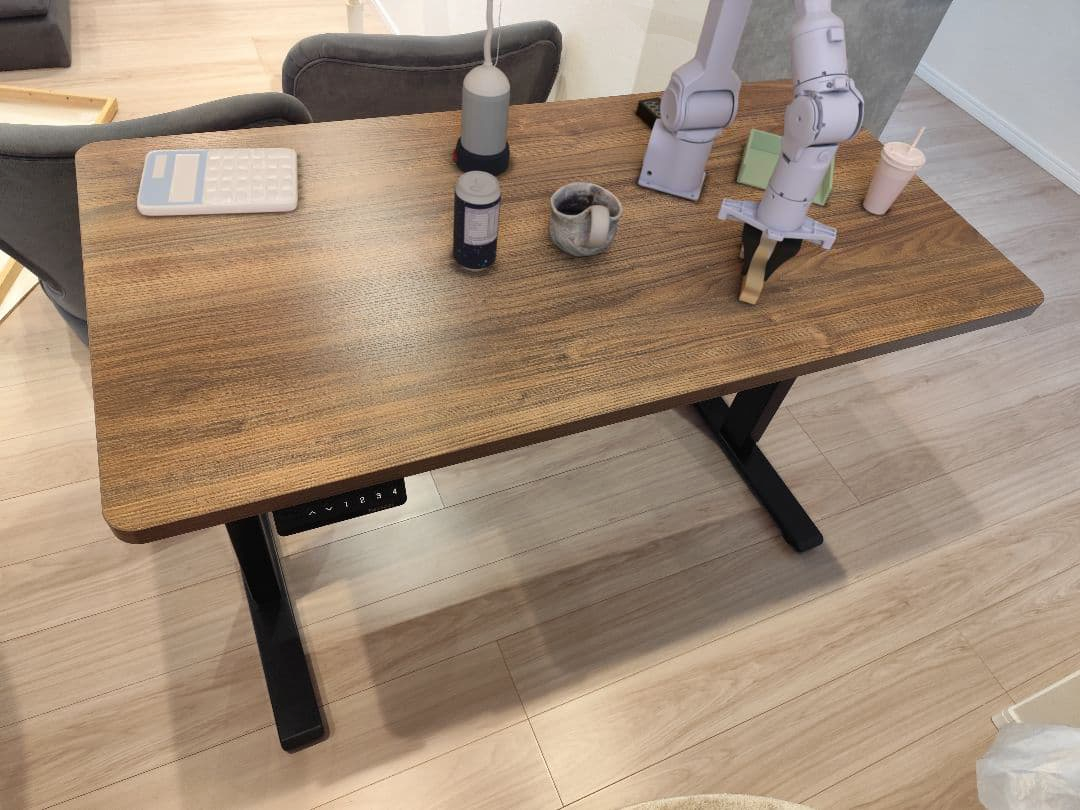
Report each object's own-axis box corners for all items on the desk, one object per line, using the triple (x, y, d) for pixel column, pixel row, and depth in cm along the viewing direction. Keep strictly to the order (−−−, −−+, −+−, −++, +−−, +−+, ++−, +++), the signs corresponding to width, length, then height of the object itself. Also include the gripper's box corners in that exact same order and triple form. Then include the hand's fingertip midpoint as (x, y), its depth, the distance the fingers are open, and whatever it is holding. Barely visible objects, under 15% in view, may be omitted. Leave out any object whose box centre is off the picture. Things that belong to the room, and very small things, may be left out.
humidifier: (444, 156, 112) (446, -20, 92) (486, 141, 115) (497, -31, 96) (476, 183, 108) (486, 6, 89) (519, 167, 112) (537, -6, 93)
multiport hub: (655, 108, 128) (658, 96, 126) (692, 142, 122) (695, 129, 121) (634, 112, 126) (637, 100, 125) (670, 146, 121) (674, 134, 119)
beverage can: (501, 254, 99) (508, 177, 89) (486, 279, 95) (491, 201, 86) (462, 241, 99) (465, 164, 90) (445, 266, 96) (447, 188, 87)
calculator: (298, 212, 99) (296, 200, 98) (138, 218, 95) (133, 205, 94) (297, 156, 107) (296, 144, 106) (149, 159, 103) (145, 147, 102)
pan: (823, 205, 115) (832, 187, 112) (736, 181, 116) (743, 163, 114) (829, 142, 128) (837, 124, 125) (751, 121, 129) (757, 103, 127)
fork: (763, 307, 97) (770, 291, 95) (730, 297, 97) (737, 281, 95) (775, 233, 107) (782, 217, 105) (746, 225, 108) (752, 209, 106)
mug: (598, 220, 106) (612, 159, 98) (632, 277, 99) (649, 216, 91) (535, 227, 103) (544, 165, 95) (565, 287, 96) (577, 224, 88)
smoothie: (896, 223, 114) (945, 142, 103) (856, 214, 114) (900, 132, 103) (892, 200, 118) (938, 119, 107) (853, 191, 118) (895, 110, 108)
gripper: (729, 188, 87) (697, 276, 97) (850, 222, 85) (805, 307, 95) (736, 158, 91) (705, 245, 101) (852, 190, 89) (808, 275, 100)
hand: (754, 273), depth 99 cm, fingers closed on fork, 2 cm apart
